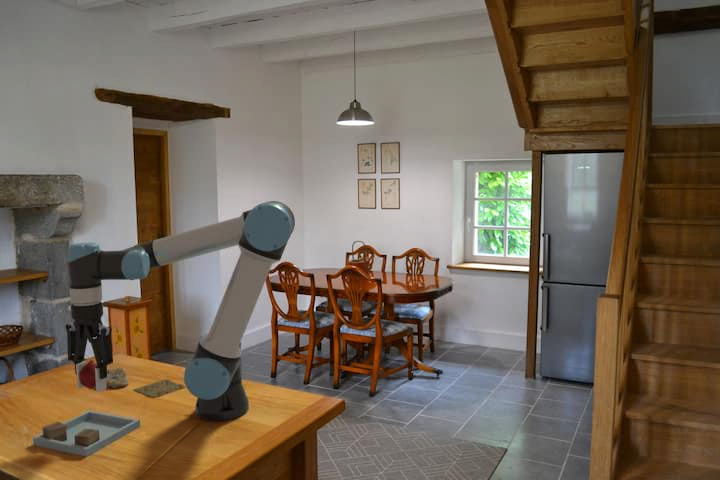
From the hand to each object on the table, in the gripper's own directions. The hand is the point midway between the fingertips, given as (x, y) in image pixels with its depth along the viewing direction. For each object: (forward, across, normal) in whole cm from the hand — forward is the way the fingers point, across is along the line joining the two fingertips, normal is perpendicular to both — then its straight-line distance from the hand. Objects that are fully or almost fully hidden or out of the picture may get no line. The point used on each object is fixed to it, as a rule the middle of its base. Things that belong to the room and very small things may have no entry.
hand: (92, 388), depth 151 cm
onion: (0, 0, 0) cm, 0 cm away
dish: (+13, 0, +2) cm, 13 cm away
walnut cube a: (+12, -6, +8) cm, 15 cm away
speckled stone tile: (+13, +6, -32) cm, 36 cm away
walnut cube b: (+12, +5, +8) cm, 15 cm away
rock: (+13, +23, -31) cm, 40 cm away
